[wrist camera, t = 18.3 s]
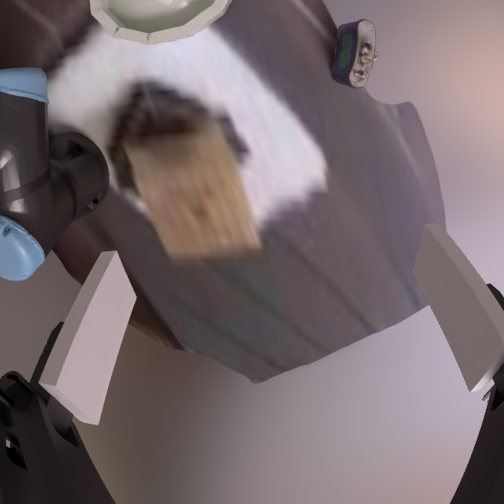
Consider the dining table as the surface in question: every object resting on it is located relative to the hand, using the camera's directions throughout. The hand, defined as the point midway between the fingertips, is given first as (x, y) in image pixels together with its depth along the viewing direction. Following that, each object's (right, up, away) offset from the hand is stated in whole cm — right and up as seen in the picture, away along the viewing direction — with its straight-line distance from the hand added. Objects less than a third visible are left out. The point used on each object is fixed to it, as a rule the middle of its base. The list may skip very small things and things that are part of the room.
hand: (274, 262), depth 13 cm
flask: (+12, +28, +23) cm, 38 cm away
